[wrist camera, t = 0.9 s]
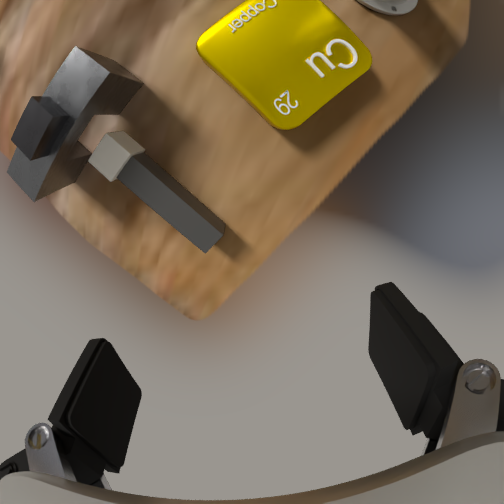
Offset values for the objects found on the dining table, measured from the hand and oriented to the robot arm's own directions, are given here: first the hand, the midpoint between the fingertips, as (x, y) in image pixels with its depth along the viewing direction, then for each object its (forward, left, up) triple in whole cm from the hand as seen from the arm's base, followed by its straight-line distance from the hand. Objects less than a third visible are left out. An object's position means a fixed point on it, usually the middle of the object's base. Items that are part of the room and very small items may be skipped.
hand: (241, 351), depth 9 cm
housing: (+7, -21, -27) cm, 35 cm away
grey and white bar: (+7, -7, -27) cm, 29 cm away
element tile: (-15, -8, -28) cm, 33 cm away
